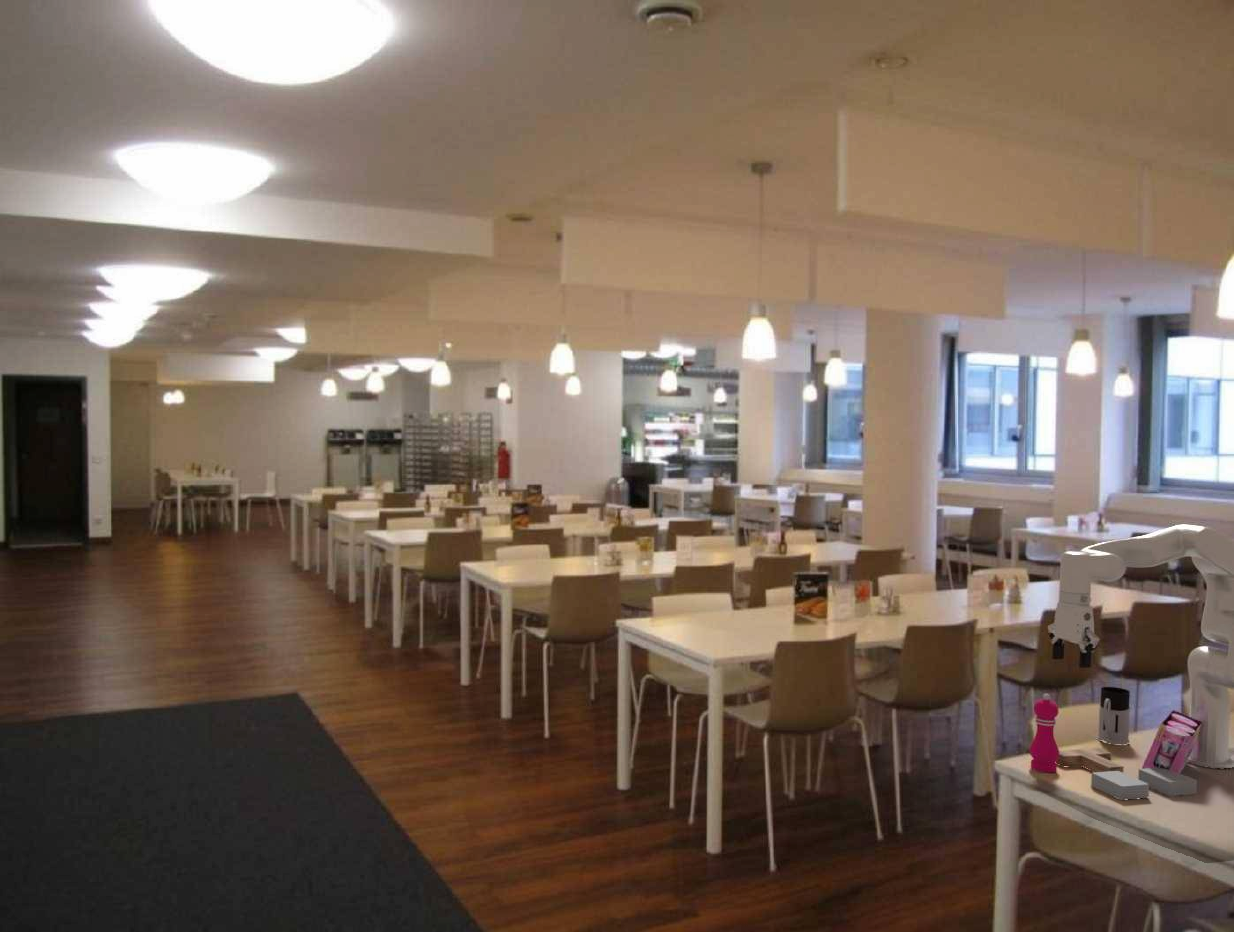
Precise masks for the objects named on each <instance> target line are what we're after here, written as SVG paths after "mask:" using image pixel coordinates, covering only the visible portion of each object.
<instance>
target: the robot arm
mask: <svg viewBox="0 0 1234 932" xmlns="http://www.w3.org/2000/svg"><path fill="white" fill-rule="evenodd" d="M1185 557H1191V560H1192V563H1193V565H1194V566H1195V568H1196V569H1197V570H1198V571H1199V573H1200V574H1201V575H1202V577H1203V580H1204V581H1205V584H1206V595H1205V596H1206V597H1205V602H1204V606H1203V611H1202V618H1201V624H1200V631H1201V635H1202V636H1203V638H1205V639H1206V640H1208V641H1210V642H1213V643H1217V644H1221V645H1225V646H1228V650H1226V649H1222V648H1219V647H1215V646H1210V645H1204V646H1198V647H1196V648H1194V649H1192V650H1191V651H1190V653H1189V654H1188V656H1187V657H1188V658H1187V672H1188V676H1189V684H1190V693H1189V694H1190V699H1189V717H1191V718H1194V719H1196V720H1198V721H1201V722H1203V723H1202V726H1201V728H1200V731H1199V733H1198V736H1197V738H1196V741H1195V743H1194V746H1193V748H1192V751H1191V753H1190V756H1189V758H1188V761H1187V763H1189V762H1190V763H1189V764H1191V763H1192V765H1194V764H1195V765H1194V766H1199V767H1202V766H1207V767H1212V768H1211V769H1215V768H1220V769H1219V770H1225V769H1224V768H1227V769H1226V770H1229V769H1228V768H1230V769H1233V768H1234V759H1232V757H1233V756H1234V747H1231V746H1230V726H1231V709H1232V699H1231V693H1230V692H1229V689H1230V690H1234V539H1233V538H1230V536H1227V535H1225V534H1224V533H1222V532H1220V531H1218V530H1217V529H1214V528H1212V527H1209V526H1202V525H1195V524H1194V525H1193V524H1186V523H1185V524H1176V525H1174V526H1170V527H1167V528H1164V529H1160V530H1157V531H1154V532H1151V533H1148V534H1144V535H1141V536H1140V535H1139V536H1135V537H1130V538H1124V539H1116V540H1112V541H1111V540H1110V541H1106V542H1101V543H1097V544H1094V545H1090V546H1087V547H1085V548H1082V549H1080V550H1079V551H1072V550H1071V551H1065V552H1063V553H1061V556H1060V570H1059V571H1060V572H1059V589H1058V601H1057V605H1056V608H1055V614H1054V622H1053V623H1051V624H1049V625H1047V630H1048V633H1049V637H1050V640H1051V641H1050V642H1051V644H1052V655H1051V656H1052V659H1053V660H1063V659H1064V657H1065V644H1064V642H1065V641H1066V642H1070V643H1072V644H1073V643H1074V644H1078V646H1079V648H1080V652H1079V659H1078V661H1079V662H1078V663H1079V664H1078V666H1079V668H1081V669H1082V668H1083V669H1084V668H1091V667H1092V653H1094V651H1095V649H1096V648H1097V645H1099V644H1098V643H1099V642H1100V638H1099V636H1098V635H1096V634H1095V620H1094V619H1095V617H1094V610H1093V607H1092V605H1091V602H1092V598H1091V589H1092V587H1091V586H1092V580H1095V581H1102V582H1115V581H1117V580H1119V579H1121V578H1122V577H1123V576H1124V574H1125V572H1126V568H1152V567H1156V566H1159V565H1162V564H1165V563H1168V562H1172V561H1175V560H1177V559H1178V560H1179V559H1181V558H1185ZM1207 767H1206V768H1207ZM1232 767H1233V768H1232Z"/></svg>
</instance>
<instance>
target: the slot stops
mask: <svg viewBox="0 0 1234 932" xmlns="http://www.w3.org/2000/svg"><path fill="white" fill-rule="evenodd" d="M1090 782H1091V784H1090V787H1091V786H1092V787H1091V788H1093V789H1095V788H1098V789H1100V790H1101V791H1100V790H1099V791H1100V792H1102V791H1103V792H1102V793H1104V792H1105V793H1104V794H1106V793H1107V794H1106V795H1108V794H1109V796H1110V795H1111V796H1110V797H1112V796H1115V797H1117V798H1119V799H1121V800H1125V799H1137V798H1147V797H1149V798H1150V794H1149V793H1150V789H1152V788H1154V789H1156V790H1158V791H1157V792H1159V791H1160V792H1159V793H1161V792H1162V793H1161V794H1163V793H1164V795H1165V794H1166V795H1165V796H1168V797H1170V796H1171V797H1180V796H1179V795H1183V796H1190V795H1191V796H1192V794H1194V795H1197V788H1198V786H1197V784H1198V780H1197V779H1195V778H1193V777H1190V776H1187V775H1184V774H1182V773H1178V772H1175V771H1171V770H1169V769H1164V768H1146V769H1142V768H1139V769H1138V778H1136V777H1133V776H1131V775H1130V774H1127V773H1124V772H1123V773H1122V772H1120V771H1108V772H1095V773H1094V772H1091V781H1090ZM1149 787H1151V788H1149ZM1154 789H1153V790H1154ZM1156 790H1155V791H1156ZM1117 798H1116V799H1117ZM1119 799H1118V800H1119ZM1121 800H1120V801H1121ZM1137 800H1138V799H1137ZM1125 801H1126V800H1125Z"/></svg>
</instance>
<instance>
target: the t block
mask: <svg viewBox="0 0 1234 932" xmlns="http://www.w3.org/2000/svg"><path fill="white" fill-rule="evenodd" d="M1055 762H1056V763H1057V765H1058V764H1060V765H1061V766H1060V765H1059V766H1060V767H1062V766H1078V767H1081V766H1084V767H1086V768H1088V769H1090V770H1092V771H1094V772H1108V771H1120V772H1122V773H1124V765H1122V764H1119V763H1117V762H1114V761H1112V753H1111V752H1109V751H1108V750H1105V749H1102V748H1100V747H1095V748H1094V747H1093V748H1080V749H1066V750H1059V758H1058V759H1057V760H1056V761H1055ZM1086 768H1085V769H1086ZM1088 769H1087V770H1088ZM1090 770H1089V771H1090ZM1092 771H1091V772H1092ZM1094 772H1093V773H1094Z"/></svg>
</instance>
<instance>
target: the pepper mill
mask: <svg viewBox="0 0 1234 932" xmlns="http://www.w3.org/2000/svg"><path fill="white" fill-rule="evenodd" d="M1033 712H1034V714H1035V715H1036V716H1035V721H1034V722H1035V723H1036V733H1035V736H1034V738H1033V740H1032V741H1031V742H1030V746H1029V754H1030V756H1031V758H1032V759H1031V761H1030V768H1031V767H1032V768H1033V770H1034V769H1035V770H1034V771H1036V770H1038V771H1037V772H1040V771H1043V772H1042V773H1045V772H1053V773H1055V771H1056V772H1057V770H1058V768H1057V766H1058V764H1056V763H1055V761H1056V760H1057V759H1058V758H1059V751H1060V750H1059V746H1058V744H1057V742H1056V740H1055V736H1054V729H1055V726H1056V725H1057V724H1056V721H1057V719H1056V717H1057V716H1058V715H1059V707H1058V705H1057V704H1056V702H1054V701H1053V700H1051V695H1050V694H1048V693H1044V694H1043V695H1042V699H1039V700H1037V701H1035V703H1034V705H1033ZM1032 768H1031V769H1032Z"/></svg>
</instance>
